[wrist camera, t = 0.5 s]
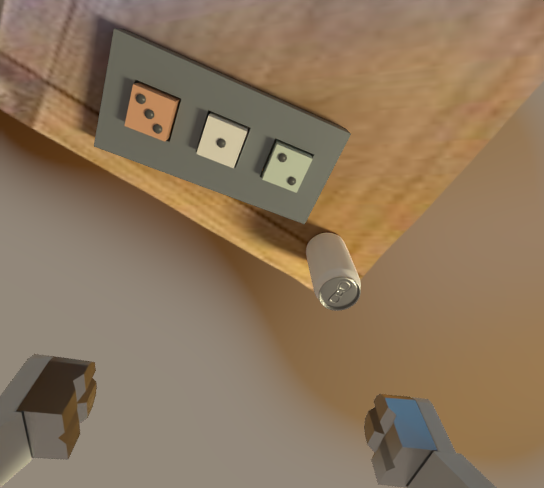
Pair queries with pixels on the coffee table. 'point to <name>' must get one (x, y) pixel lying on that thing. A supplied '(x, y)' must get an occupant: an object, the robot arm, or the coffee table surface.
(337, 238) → the can
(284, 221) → the coffee table surface
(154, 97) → the three dot button
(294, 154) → the two dot button
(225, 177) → the button board
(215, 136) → the one dot button
